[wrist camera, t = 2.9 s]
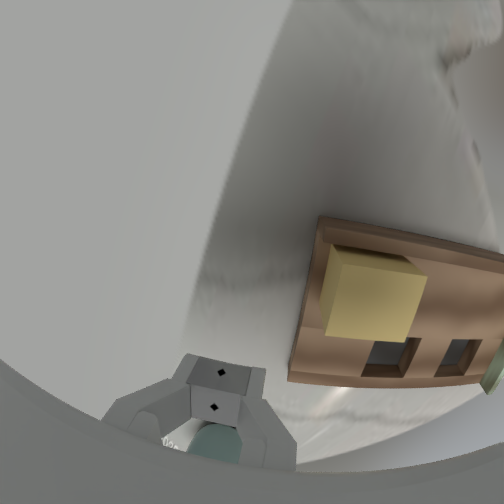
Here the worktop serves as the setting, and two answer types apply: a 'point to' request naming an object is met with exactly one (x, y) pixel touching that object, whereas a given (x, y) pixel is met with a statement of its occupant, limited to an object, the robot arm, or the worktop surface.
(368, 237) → the box
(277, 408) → the worktop surface
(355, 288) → the block
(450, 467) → the robot arm
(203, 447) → the cup
